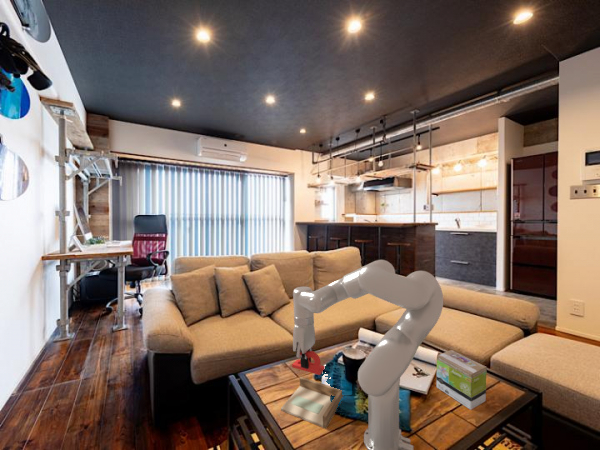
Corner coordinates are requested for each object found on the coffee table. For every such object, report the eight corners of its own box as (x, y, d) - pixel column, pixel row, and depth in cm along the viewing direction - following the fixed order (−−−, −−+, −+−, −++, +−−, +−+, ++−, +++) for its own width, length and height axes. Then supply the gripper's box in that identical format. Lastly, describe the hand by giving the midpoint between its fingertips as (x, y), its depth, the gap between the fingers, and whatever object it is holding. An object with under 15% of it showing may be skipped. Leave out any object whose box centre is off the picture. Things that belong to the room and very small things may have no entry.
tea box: (435, 388, 117) (435, 354, 116) (450, 380, 122) (451, 348, 121) (471, 411, 104) (471, 373, 103) (486, 402, 109) (487, 365, 108)
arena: (342, 400, 111) (342, 390, 111) (326, 428, 97) (325, 417, 97) (301, 386, 121) (300, 376, 120) (280, 410, 107) (280, 399, 106)
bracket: (324, 368, 108) (323, 349, 107) (319, 375, 104) (318, 354, 103) (298, 361, 114) (297, 342, 113) (292, 367, 110) (291, 347, 109)
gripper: (305, 311, 115) (307, 354, 116) (284, 325, 101) (287, 374, 102) (321, 314, 111) (323, 358, 112) (302, 329, 98) (304, 380, 99)
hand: (306, 366), depth 107 cm, fingers closed on bracket, 1 cm apart
